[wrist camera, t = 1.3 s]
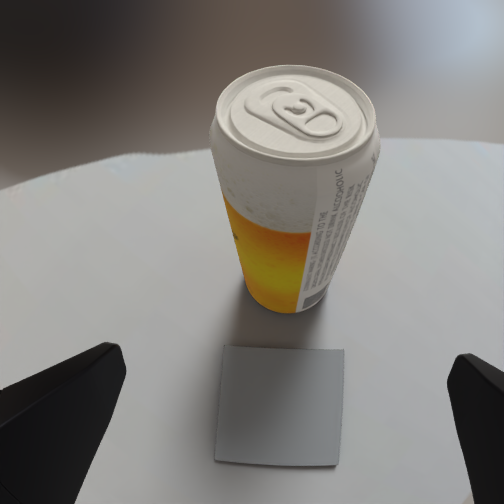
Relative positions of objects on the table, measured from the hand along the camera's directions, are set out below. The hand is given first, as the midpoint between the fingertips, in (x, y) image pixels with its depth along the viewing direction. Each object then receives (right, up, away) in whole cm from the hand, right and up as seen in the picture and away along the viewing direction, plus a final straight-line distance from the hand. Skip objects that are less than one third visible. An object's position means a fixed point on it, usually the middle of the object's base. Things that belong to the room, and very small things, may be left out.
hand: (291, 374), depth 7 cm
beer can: (+2, +1, +16) cm, 16 cm away
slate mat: (+1, -7, +12) cm, 14 cm away
